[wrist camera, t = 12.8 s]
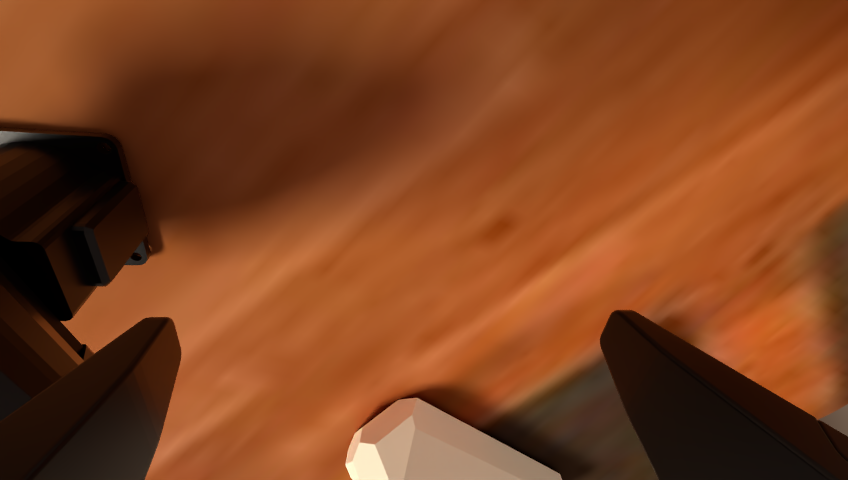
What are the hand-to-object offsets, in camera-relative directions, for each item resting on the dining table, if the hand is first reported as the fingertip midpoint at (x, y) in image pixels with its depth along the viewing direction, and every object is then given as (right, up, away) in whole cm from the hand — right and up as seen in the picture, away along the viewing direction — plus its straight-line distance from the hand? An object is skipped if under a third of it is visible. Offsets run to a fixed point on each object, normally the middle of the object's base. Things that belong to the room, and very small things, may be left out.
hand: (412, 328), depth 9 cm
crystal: (+4, -17, +28) cm, 33 cm away
